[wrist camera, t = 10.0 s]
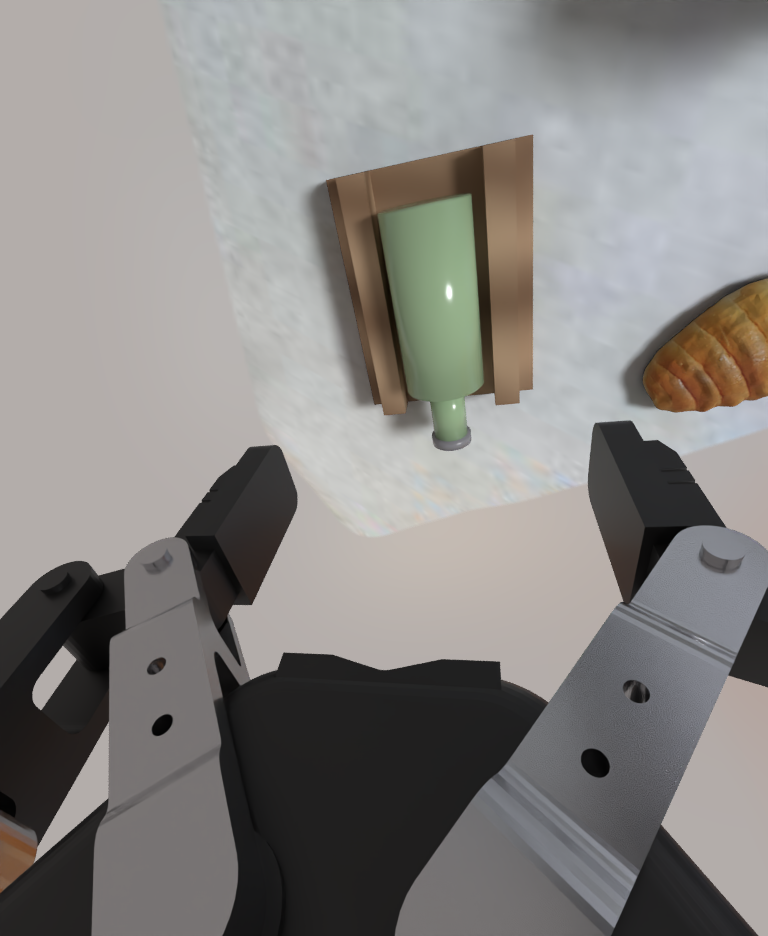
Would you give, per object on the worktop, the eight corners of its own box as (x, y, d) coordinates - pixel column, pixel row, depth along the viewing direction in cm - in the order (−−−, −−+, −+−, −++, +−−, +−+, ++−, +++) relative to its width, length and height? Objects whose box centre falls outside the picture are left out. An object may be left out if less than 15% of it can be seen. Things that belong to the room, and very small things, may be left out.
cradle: (331, 179, 26) (317, 182, 24) (530, 135, 23) (537, 133, 21) (377, 397, 34) (370, 416, 31) (530, 381, 31) (535, 401, 29)
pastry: (664, 423, 32) (684, 453, 29) (620, 349, 29) (637, 373, 26) (826, 344, 27) (871, 369, 24) (790, 250, 25) (834, 264, 22)
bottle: (387, 207, 25) (367, 219, 22) (473, 190, 24) (468, 199, 20) (422, 424, 33) (412, 461, 29) (488, 420, 32) (486, 458, 28)
